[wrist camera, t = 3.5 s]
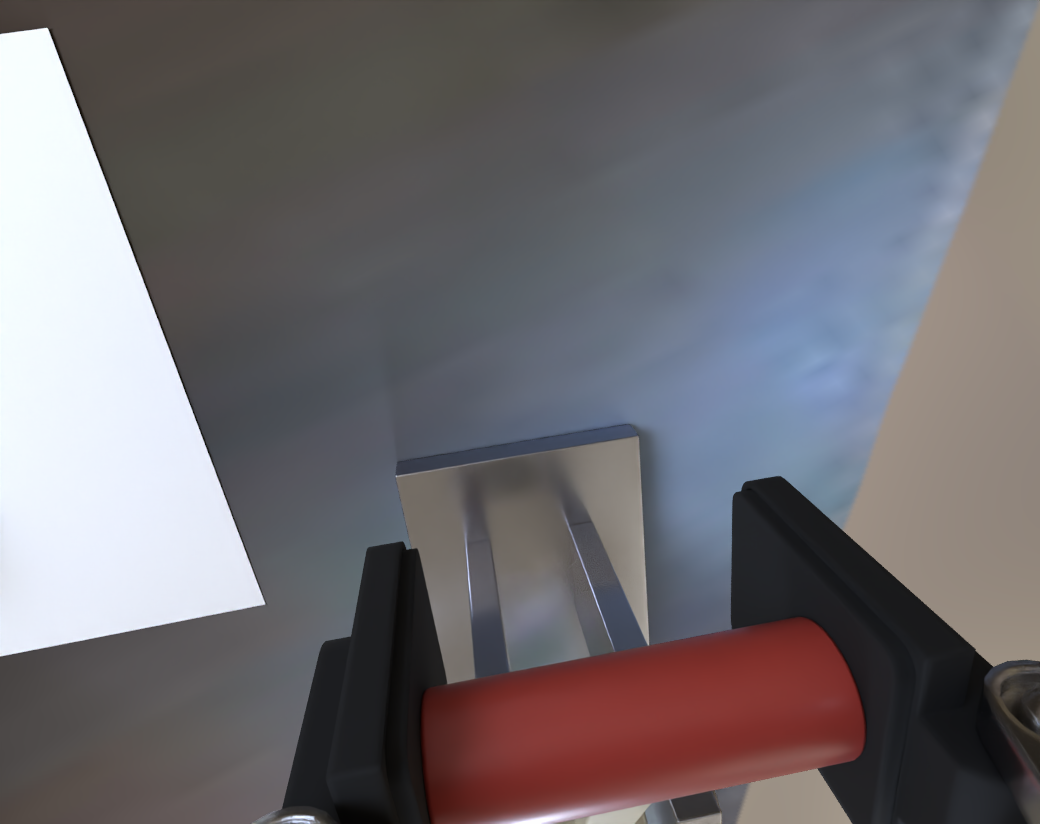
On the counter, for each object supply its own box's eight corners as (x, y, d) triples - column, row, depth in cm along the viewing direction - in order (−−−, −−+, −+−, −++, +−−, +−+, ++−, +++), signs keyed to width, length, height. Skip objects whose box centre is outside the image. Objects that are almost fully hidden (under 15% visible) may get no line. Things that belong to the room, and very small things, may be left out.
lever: (413, 640, 8) (427, 885, 6) (802, 568, 8) (910, 781, 6) (493, 796, 17) (506, 906, 15) (668, 759, 17) (698, 864, 16)
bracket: (396, 461, 23) (355, 771, 11) (630, 422, 24) (824, 677, 12) (445, 681, 27) (452, 1075, 15) (642, 643, 28) (794, 994, 16)
